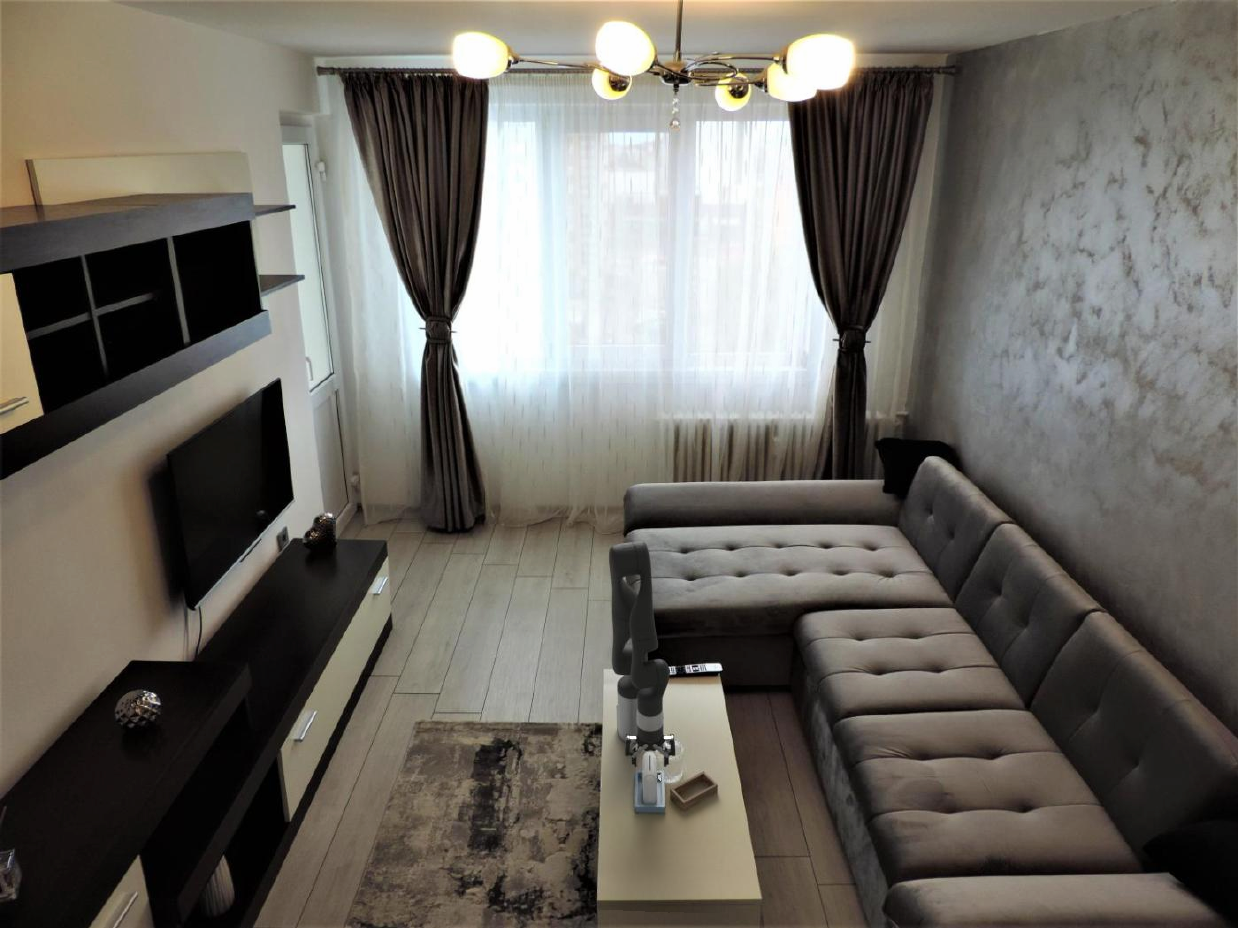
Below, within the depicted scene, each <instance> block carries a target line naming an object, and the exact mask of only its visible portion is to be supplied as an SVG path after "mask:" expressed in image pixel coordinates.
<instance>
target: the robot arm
mask: <svg viewBox="0 0 1238 928" xmlns="http://www.w3.org/2000/svg"><path fill="white" fill-rule="evenodd" d="M608 563H609V565H608V566H609V574H610V575H609V576H610V583H611V584H610V585H611V624H612V648H611V650H612V651H611V667H612V670H613V672H614V674H615V675H617V676H621V677H620V678H619V680H618V681H617V684H616V685H617V686H616V689H617V690H616V691H617V693H616V694H617V705H616V729H617V733H618V737H619V739H621V740H622V741H624V742H625V745H624V746H625V749H624V751H625V752H624V754H625V756H626V757H631V765H632V766H633V768H634V767H635V768H637V766H638V765H637V756H638V755H640V754H642V752H643V751H644V752H657V751H658V753H659V754H661V755H663V767H664V768H665V767H667V766H668V765H669V764H670V756H671V757H675V756H676V743H675V741H676V739H675V734H674V733H671V734H669V736H667V735H666V736H665V734H664V732H665V731H664V728H665V727H664V721H665V720H664V719H665V717H664V705H663V704H664V699H663V698H664V697H665V696H664V695H665V692H666V690H667V686H668V683H669V680H670V676H671V675H670V674H671V673H670V672H671V671H670V668H669V664H668V663H667V662H666V660H664V659H661V658H656V659H651V660H649V659H648V653H650V652H653V651H655V650H657V649H658V647H659V643H658V642H659V640H658V636H657V631H656V629H657V628H656V623H655V622H656V621H655V616H654V605H653V604H654V602H653V601H654V599H653V598H654V597H653V582H652V581H653V580H652V566H651V565H652V564H651V556H650V552H649V548H648V545H647V544H646V542H644V541H643V540H636V541H629V542H623V543H618V544H614V545H612V546H611V547H610V548H609V551H608ZM638 575H639V577H640V579H639V580H640V581H639V582H640V583H639V584H640V585H639V591H638V593H637V591H635V589H633V588H632V587H631V586H630V585H629V584H628V583H627V582H626V581H625V579H624V578H627V577H632V576H633V577H634V576H638ZM630 639H631V644H629V643H628V641H630ZM627 643H628V644H627ZM665 743H667V744H668V745H669V746H670V748H668V747H667V746H666V745H665ZM633 744H635V745H634V746H633V747H632V748H631V746H632V745H633Z"/></svg>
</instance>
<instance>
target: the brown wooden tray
mask: <svg viewBox="0 0 1238 928" xmlns="http://www.w3.org/2000/svg"><path fill="white" fill-rule="evenodd" d="M702 782H703V783H704V784H705V785H706V786H707V788H706V789H703V790H702V791H700V792H698V793H696V794H694V795H692V796H690V797H688V798H687V799H685V800H684V798H683V797H682V796H681V795H680V794H682V793H684V792H686V791H688V790H690V789H692V788H694V787H696V786H697V785H699V784H701V783H702ZM718 788H719V785H718V783H716V781H715V780H713V779H712V777H710V776H709V774H707V773H706V772H705V770H703V771H701V772H699V773H698V774H696V775H693V776H692V777H690V778H688V779H686V780H684V781H682V782H680V783H678V784H677V785H675V786H673V787H671V788H670V789H669V797H670V798H671V799H672V800H673V802H675V804H676V805H677V806H678V807H680V809H681V810H682V811H683V812H685V811H686V810H689V809H690V808H692V807H694V806H696V805H698V804H700V803H701V802H704V801H705V800H707V799H708V798H711V797H712V796H714V795H716V794H718V791H719V789H718Z"/></svg>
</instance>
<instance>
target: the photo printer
mask: <svg viewBox="0 0 1238 928" xmlns="http://www.w3.org/2000/svg"><path fill="white" fill-rule="evenodd" d="M641 764H642V765H641V766H642V767H641V768H642V770H641V771H642V789H643V802H644V804H645V805H655V804H656V802H657V771H658V760H657V757H656V754H655V753H654V751H645V753H644V754H643V756H642V762H641Z"/></svg>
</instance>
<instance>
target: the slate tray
mask: <svg viewBox="0 0 1238 928" xmlns="http://www.w3.org/2000/svg"><path fill="white" fill-rule="evenodd" d="M660 774H661V781H660V780H659V779H658V775H660ZM665 791H666V790H665V771H664V770H657V802H656V804H655V805H645V804H644V802H643V789H642V770H635V771H634V814H664V815H665V814H666V793H665Z"/></svg>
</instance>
